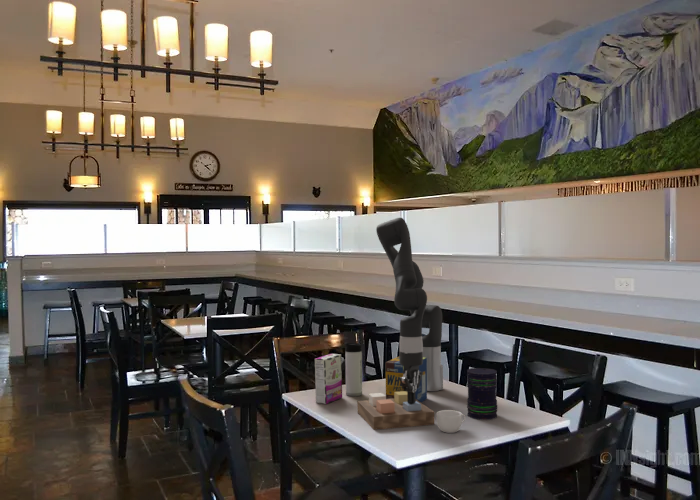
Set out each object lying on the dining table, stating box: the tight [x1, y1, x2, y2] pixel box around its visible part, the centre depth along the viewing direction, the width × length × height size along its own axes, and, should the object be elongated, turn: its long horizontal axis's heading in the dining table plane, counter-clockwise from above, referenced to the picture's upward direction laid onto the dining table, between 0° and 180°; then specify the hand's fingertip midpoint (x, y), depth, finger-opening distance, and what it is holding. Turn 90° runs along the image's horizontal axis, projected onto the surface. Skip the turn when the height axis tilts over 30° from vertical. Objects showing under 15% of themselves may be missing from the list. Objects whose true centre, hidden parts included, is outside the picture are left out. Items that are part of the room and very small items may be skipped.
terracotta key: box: [376, 399, 395, 414], centre depth 193 cm, size 5×5×4 cm
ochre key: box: [394, 391, 407, 404], centre depth 204 cm, size 5×5×4 cm
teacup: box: [435, 409, 466, 434], centre depth 185 cm, size 10×8×5 cm
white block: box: [368, 392, 386, 406], centre depth 202 cm, size 5×5×4 cm
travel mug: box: [344, 342, 363, 397], centre depth 231 cm, size 6×7×20 cm
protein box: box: [385, 356, 428, 403], centre depth 220 cm, size 10×15×16 cm
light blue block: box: [403, 401, 421, 411], centre depth 195 cm, size 5×5×4 cm
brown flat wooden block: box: [356, 398, 435, 431], centre depth 199 cm, size 20×20×4 cm
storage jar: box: [466, 367, 498, 421], centre depth 201 cm, size 10×10×15 cm
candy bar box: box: [314, 353, 343, 405], centre depth 223 cm, size 11×5×16 cm, turn 148°
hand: (411, 403), depth 195 cm, fingers closed
